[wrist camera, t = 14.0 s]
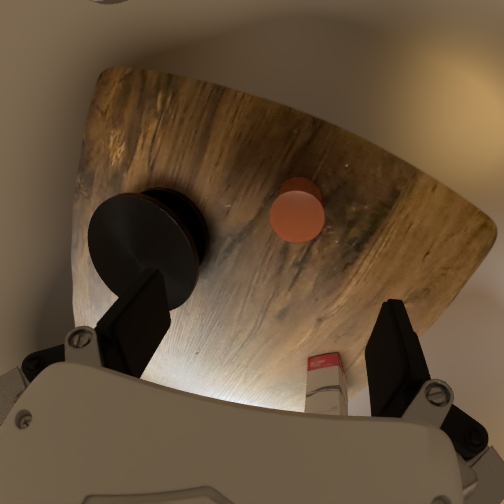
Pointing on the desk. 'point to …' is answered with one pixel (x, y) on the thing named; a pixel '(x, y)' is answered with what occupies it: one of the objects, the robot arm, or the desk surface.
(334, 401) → the ink box
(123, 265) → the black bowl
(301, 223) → the orange cylinder
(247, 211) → the desk surface
